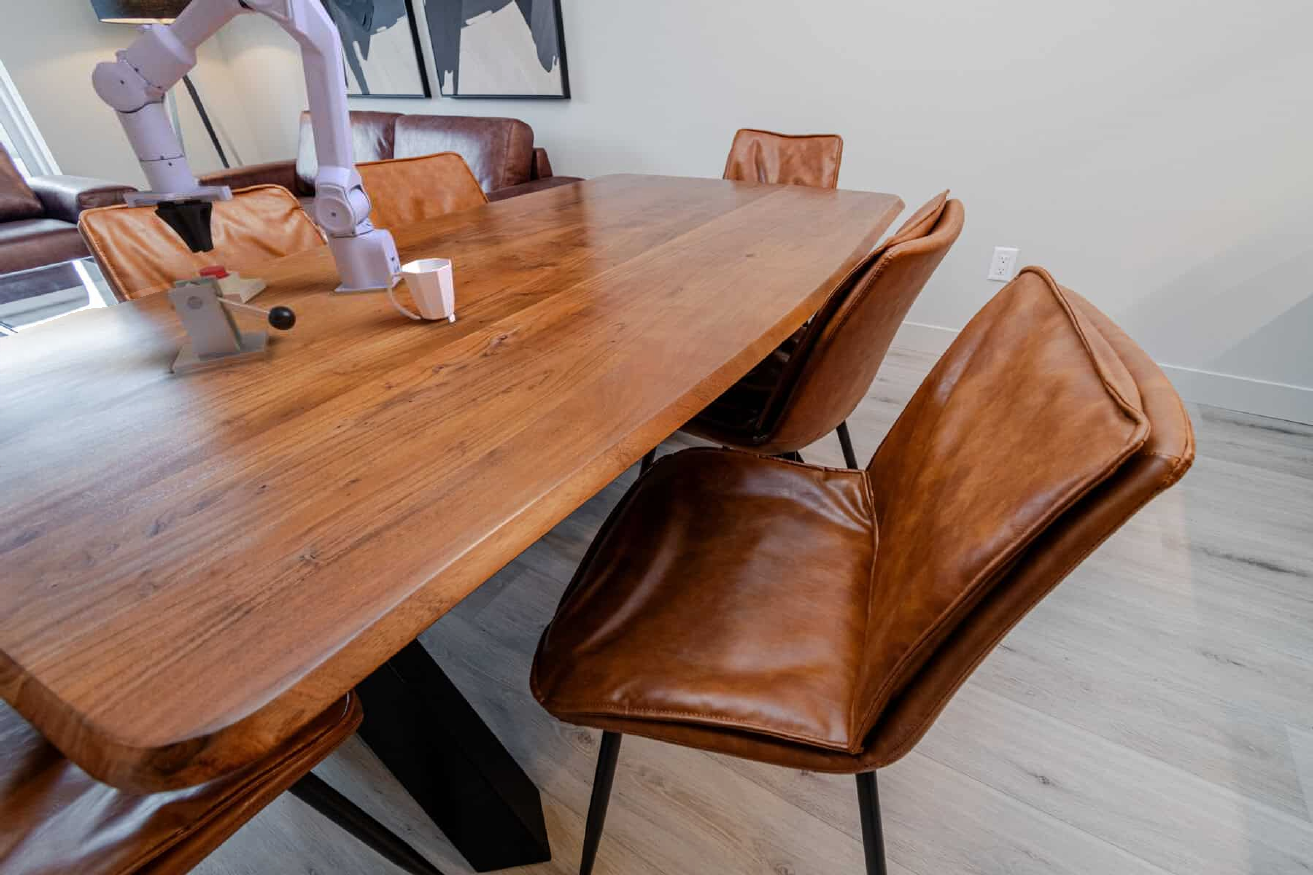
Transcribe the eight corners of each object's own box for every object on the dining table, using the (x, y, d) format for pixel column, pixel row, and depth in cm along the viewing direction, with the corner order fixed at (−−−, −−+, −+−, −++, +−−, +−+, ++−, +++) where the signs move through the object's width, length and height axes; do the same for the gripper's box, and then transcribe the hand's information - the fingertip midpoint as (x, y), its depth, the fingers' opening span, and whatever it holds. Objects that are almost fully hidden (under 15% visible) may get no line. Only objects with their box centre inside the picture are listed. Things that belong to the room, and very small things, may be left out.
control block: (266, 287, 104) (257, 267, 102) (243, 303, 97) (234, 282, 95) (206, 292, 103) (196, 272, 101) (179, 308, 96) (169, 287, 94)
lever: (293, 328, 82) (298, 307, 81) (292, 336, 80) (298, 314, 79) (184, 301, 75) (188, 278, 74) (179, 309, 73) (184, 284, 72)
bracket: (270, 337, 84) (241, 267, 78) (266, 358, 77) (234, 284, 72) (187, 353, 80) (150, 281, 75) (175, 376, 74) (135, 300, 69)
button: (233, 275, 100) (228, 264, 99) (221, 282, 97) (217, 271, 96) (210, 276, 100) (205, 266, 99) (198, 283, 97) (193, 273, 96)
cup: (455, 329, 83) (441, 272, 78) (386, 331, 84) (368, 274, 79) (472, 311, 89) (459, 256, 84) (407, 312, 90) (391, 258, 85)
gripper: (91, 165, 85) (140, 261, 92) (197, 159, 86) (238, 254, 93) (123, 158, 91) (167, 249, 98) (223, 152, 91) (258, 242, 99)
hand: (203, 251), depth 96 cm, fingers closed
